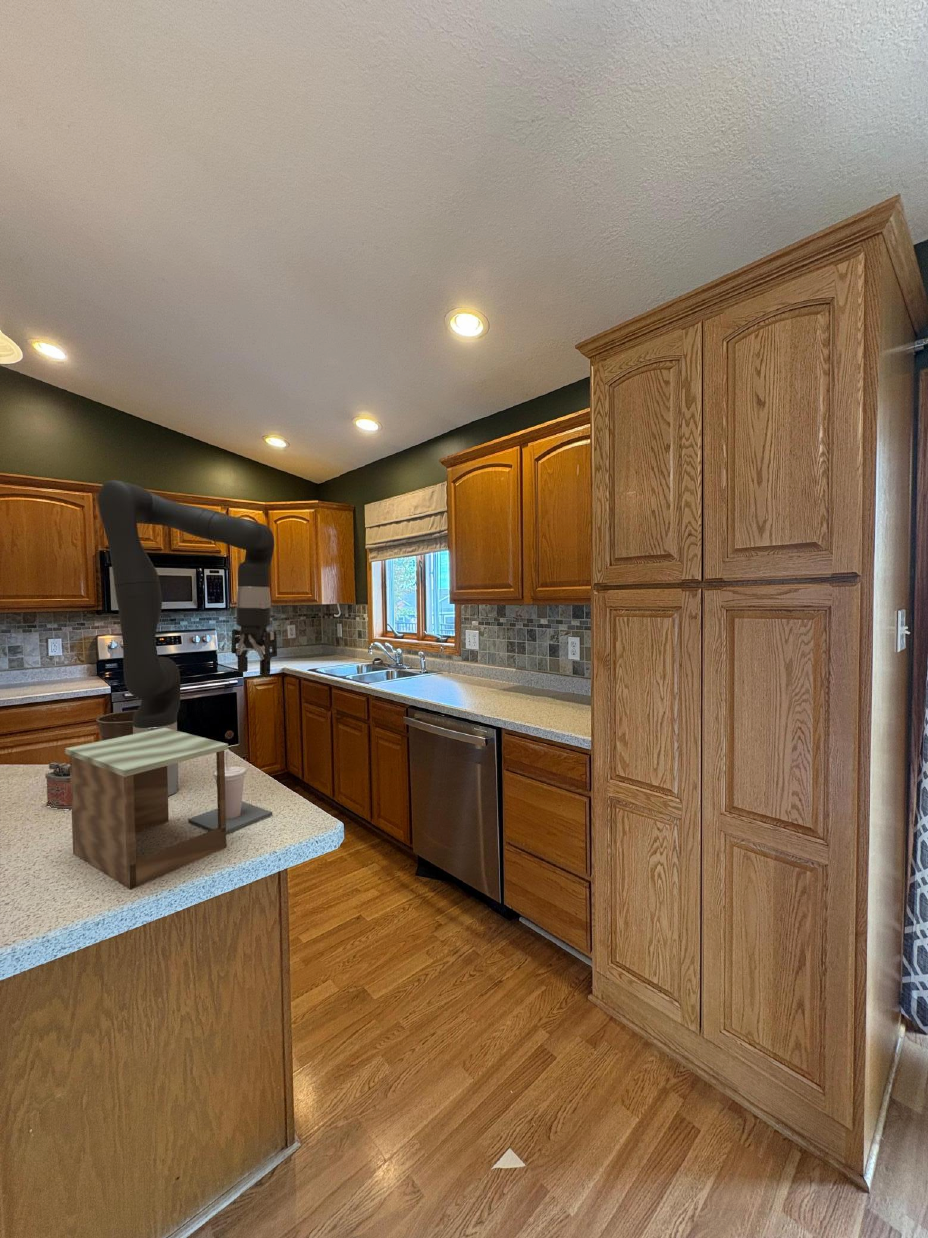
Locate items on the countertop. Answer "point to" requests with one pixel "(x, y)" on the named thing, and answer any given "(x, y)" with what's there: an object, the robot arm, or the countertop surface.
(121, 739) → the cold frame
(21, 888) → the countertop surface
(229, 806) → the smoothie
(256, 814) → the slate mat
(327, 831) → the countertop surface
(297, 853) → the countertop surface
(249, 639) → the robot arm
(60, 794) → the lighter
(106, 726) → the plant pot
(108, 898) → the countertop surface
